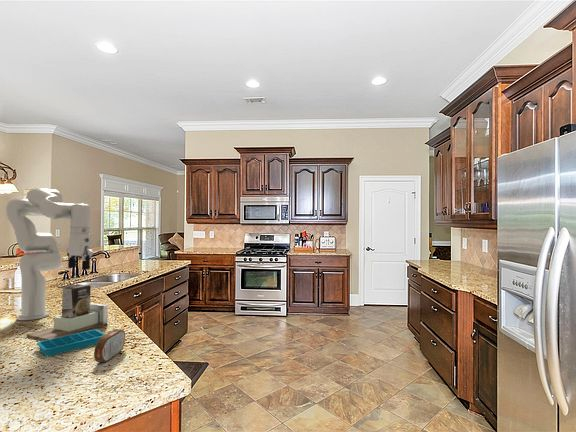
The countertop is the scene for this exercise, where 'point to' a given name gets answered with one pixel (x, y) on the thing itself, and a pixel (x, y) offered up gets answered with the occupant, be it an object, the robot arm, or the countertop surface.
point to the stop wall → (100, 312)
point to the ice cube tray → (69, 342)
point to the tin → (109, 345)
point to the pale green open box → (75, 321)
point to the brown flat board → (60, 332)
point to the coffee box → (76, 301)
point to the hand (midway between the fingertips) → (78, 268)
